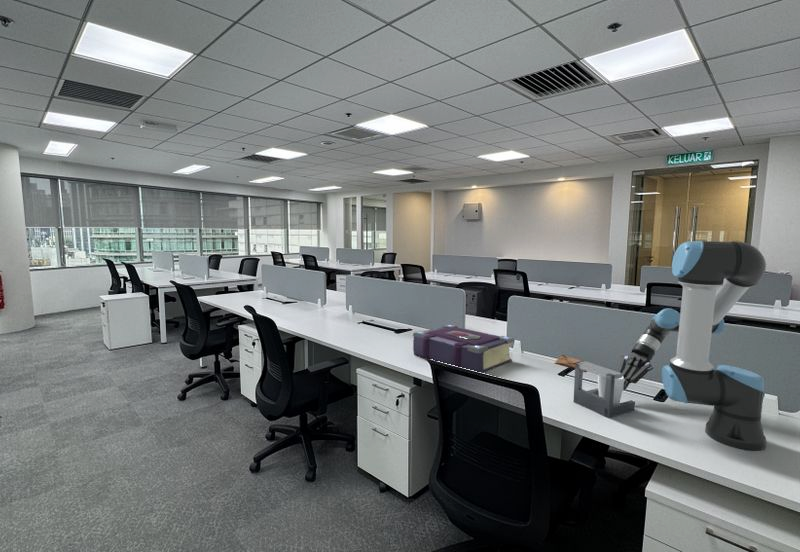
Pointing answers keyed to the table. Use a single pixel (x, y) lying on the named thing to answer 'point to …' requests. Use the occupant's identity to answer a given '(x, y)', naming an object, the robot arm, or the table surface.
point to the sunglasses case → (568, 362)
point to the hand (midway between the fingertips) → (616, 393)
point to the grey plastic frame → (592, 396)
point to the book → (463, 347)
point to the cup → (617, 388)
